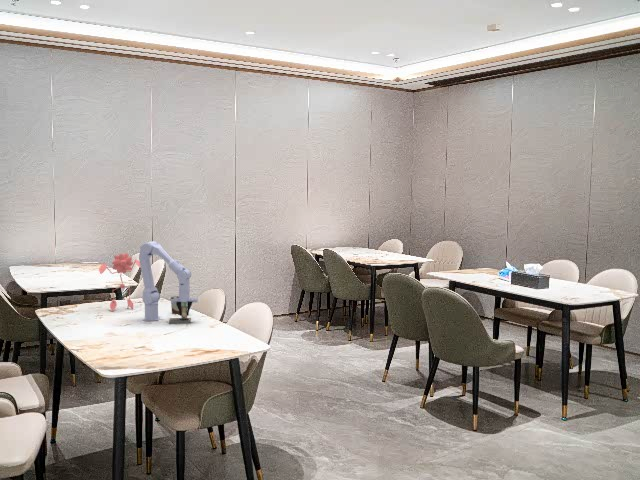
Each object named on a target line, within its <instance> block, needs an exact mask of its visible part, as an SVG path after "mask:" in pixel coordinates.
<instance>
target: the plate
mask: <svg viewBox="0 0 640 480" xmlns="http://www.w3.org/2000/svg"><path fill="white" fill-rule="evenodd" d="M191 322H192V317H187V318H181V317H170V318H169V320H168V324H169V325H177V324H178V325H181V324H182V325H183V324H185V325H186V324H191Z"/></svg>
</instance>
